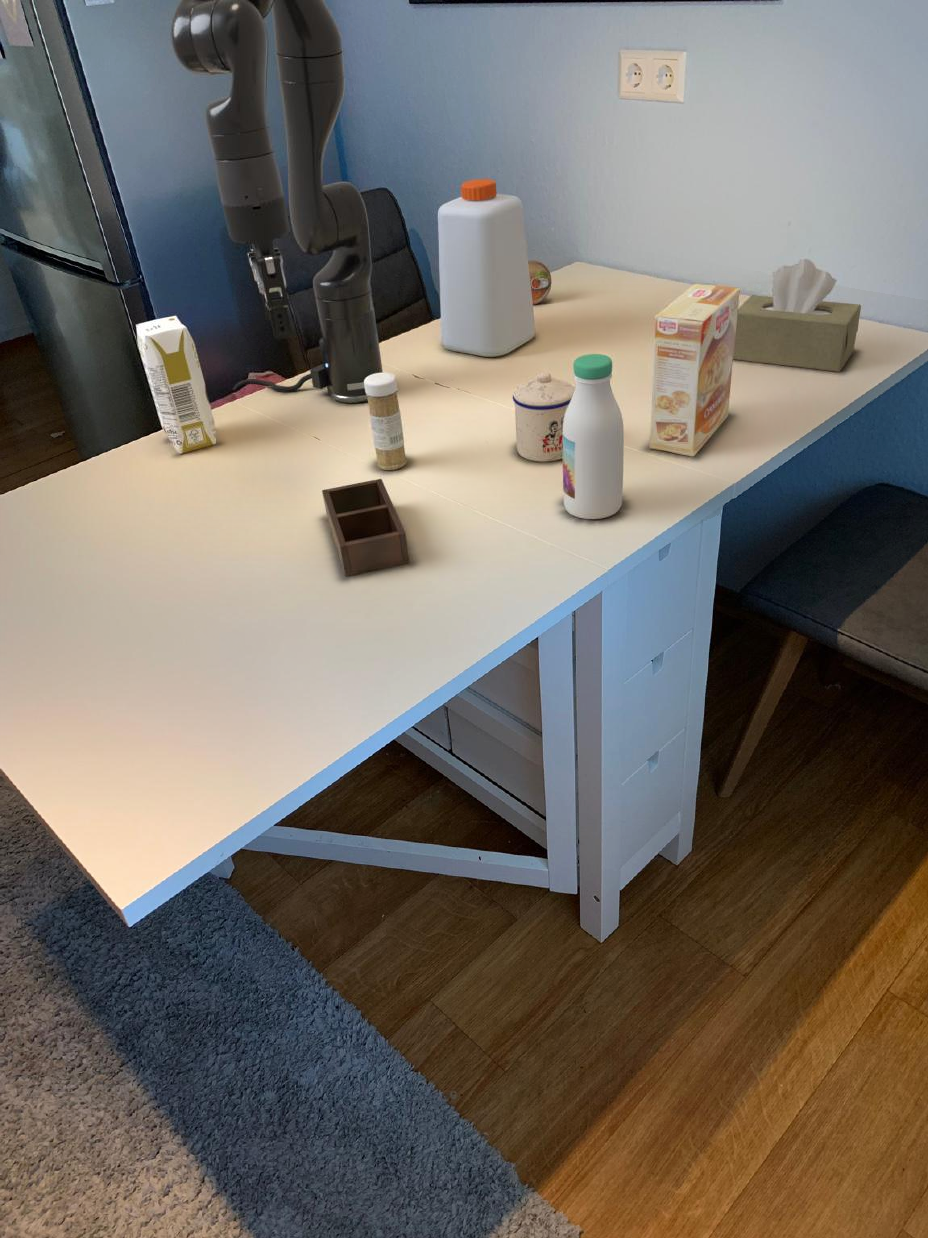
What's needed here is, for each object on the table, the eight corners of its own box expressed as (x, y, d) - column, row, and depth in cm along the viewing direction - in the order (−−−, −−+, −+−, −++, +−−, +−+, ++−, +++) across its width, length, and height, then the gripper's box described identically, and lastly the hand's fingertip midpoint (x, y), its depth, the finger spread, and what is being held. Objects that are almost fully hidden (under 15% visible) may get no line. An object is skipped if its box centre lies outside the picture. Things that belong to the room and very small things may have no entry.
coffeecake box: (694, 457, 132) (704, 320, 120) (647, 449, 135) (652, 314, 124) (730, 416, 142) (742, 286, 130) (685, 409, 145) (693, 281, 134)
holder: (345, 576, 114) (339, 546, 111) (327, 518, 126) (321, 489, 124) (409, 562, 115) (405, 533, 113) (385, 506, 128) (381, 478, 125)
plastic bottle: (479, 324, 185) (468, 170, 168) (544, 334, 177) (539, 174, 161) (433, 349, 175) (416, 189, 159) (499, 361, 167) (489, 194, 151)
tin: (479, 306, 194) (476, 264, 189) (481, 301, 196) (478, 260, 191) (551, 304, 191) (550, 262, 186) (552, 299, 194) (551, 257, 189)
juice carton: (175, 457, 146) (141, 338, 134) (163, 438, 152) (129, 323, 141) (222, 445, 148) (192, 326, 137) (208, 426, 154) (178, 312, 143)
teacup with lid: (548, 469, 132) (546, 391, 126) (502, 452, 138) (498, 376, 131) (602, 439, 139) (602, 363, 132) (556, 424, 144) (554, 351, 138)
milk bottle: (629, 496, 124) (633, 350, 113) (612, 524, 119) (614, 374, 107) (574, 488, 127) (573, 345, 116) (555, 516, 122) (551, 368, 110)
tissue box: (855, 351, 158) (871, 255, 149) (841, 372, 152) (857, 273, 142) (745, 339, 167) (754, 247, 157) (727, 358, 160) (736, 264, 151)
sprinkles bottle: (400, 454, 140) (388, 368, 132) (412, 466, 137) (401, 378, 129) (371, 462, 139) (358, 376, 131) (383, 474, 135) (370, 386, 127)
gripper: (217, 190, 118) (246, 318, 127) (225, 210, 107) (256, 349, 116) (276, 181, 119) (300, 308, 129) (290, 200, 108) (315, 338, 117)
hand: (279, 328), depth 122 cm, fingers open, 8 cm apart
